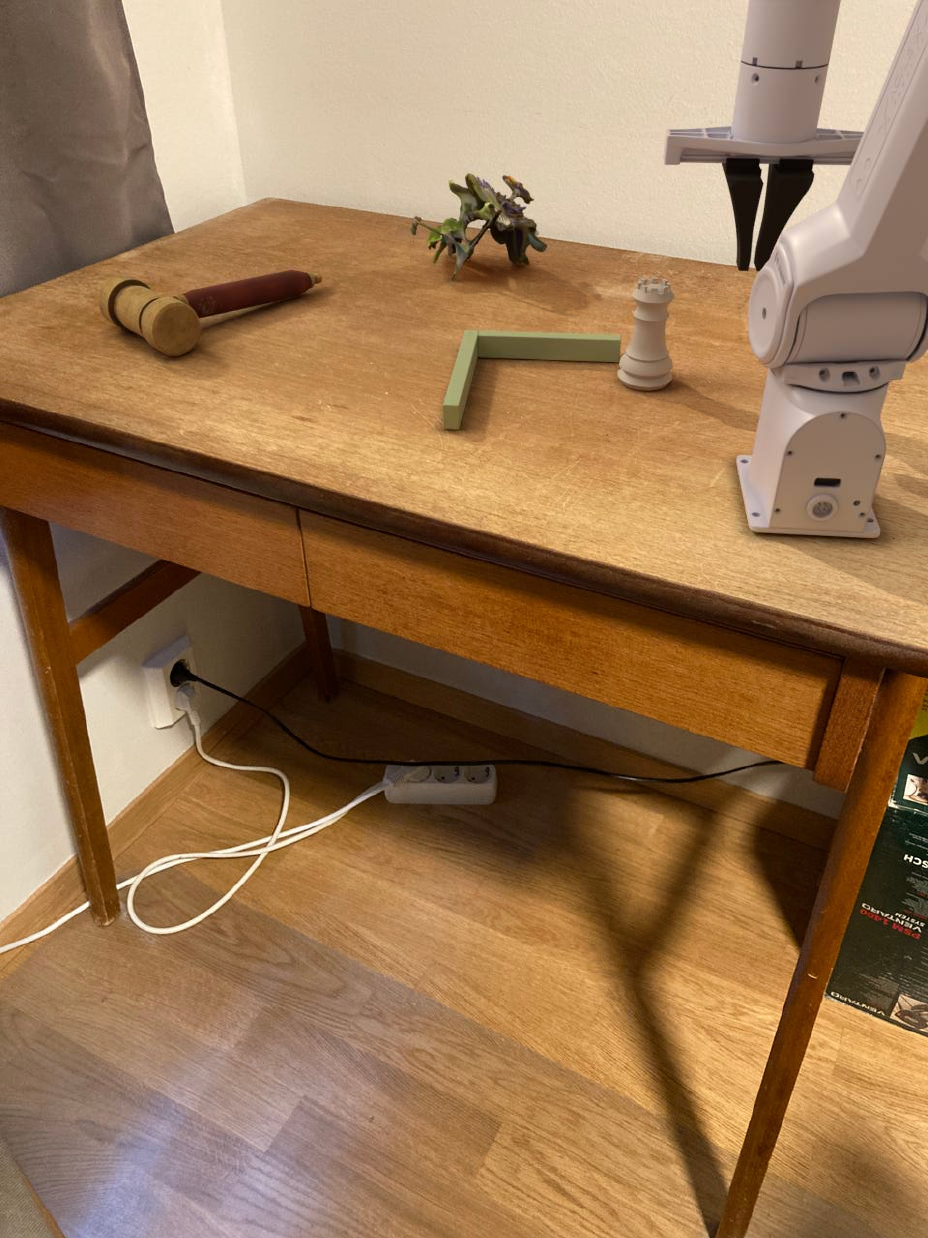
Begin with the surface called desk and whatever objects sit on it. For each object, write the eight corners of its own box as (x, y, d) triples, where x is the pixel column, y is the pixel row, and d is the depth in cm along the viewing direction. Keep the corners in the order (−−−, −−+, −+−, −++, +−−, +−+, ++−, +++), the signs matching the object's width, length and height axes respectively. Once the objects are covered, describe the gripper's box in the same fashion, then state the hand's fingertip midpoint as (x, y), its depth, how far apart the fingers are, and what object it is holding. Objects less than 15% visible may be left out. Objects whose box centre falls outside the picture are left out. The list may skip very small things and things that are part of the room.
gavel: (290, 242, 100) (351, 265, 94) (293, 288, 103) (352, 313, 97) (93, 278, 88) (149, 308, 82) (102, 329, 91) (156, 361, 85)
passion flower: (512, 316, 107) (576, 234, 98) (436, 323, 100) (497, 236, 91) (463, 233, 110) (521, 146, 100) (385, 235, 103) (439, 142, 94)
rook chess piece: (606, 375, 82) (614, 278, 77) (652, 365, 84) (662, 269, 79) (635, 396, 79) (646, 296, 74) (682, 385, 81) (695, 287, 76)
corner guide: (620, 436, 74) (622, 412, 73) (443, 429, 75) (442, 404, 74) (619, 356, 85) (621, 334, 84) (465, 351, 87) (465, 329, 85)
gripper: (884, 52, 69) (840, 251, 77) (671, 51, 70) (651, 247, 79) (907, 70, 64) (858, 283, 72) (676, 69, 65) (654, 277, 73)
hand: (750, 266), depth 75 cm, fingers closed
